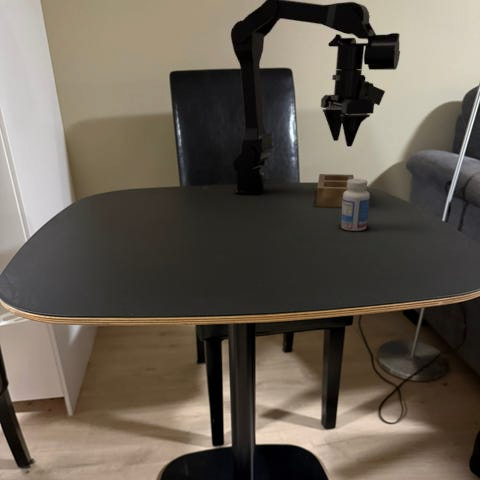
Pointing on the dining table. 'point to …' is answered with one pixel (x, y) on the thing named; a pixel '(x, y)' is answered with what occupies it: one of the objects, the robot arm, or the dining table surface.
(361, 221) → the pill bottle
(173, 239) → the dining table surface
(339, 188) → the holder
